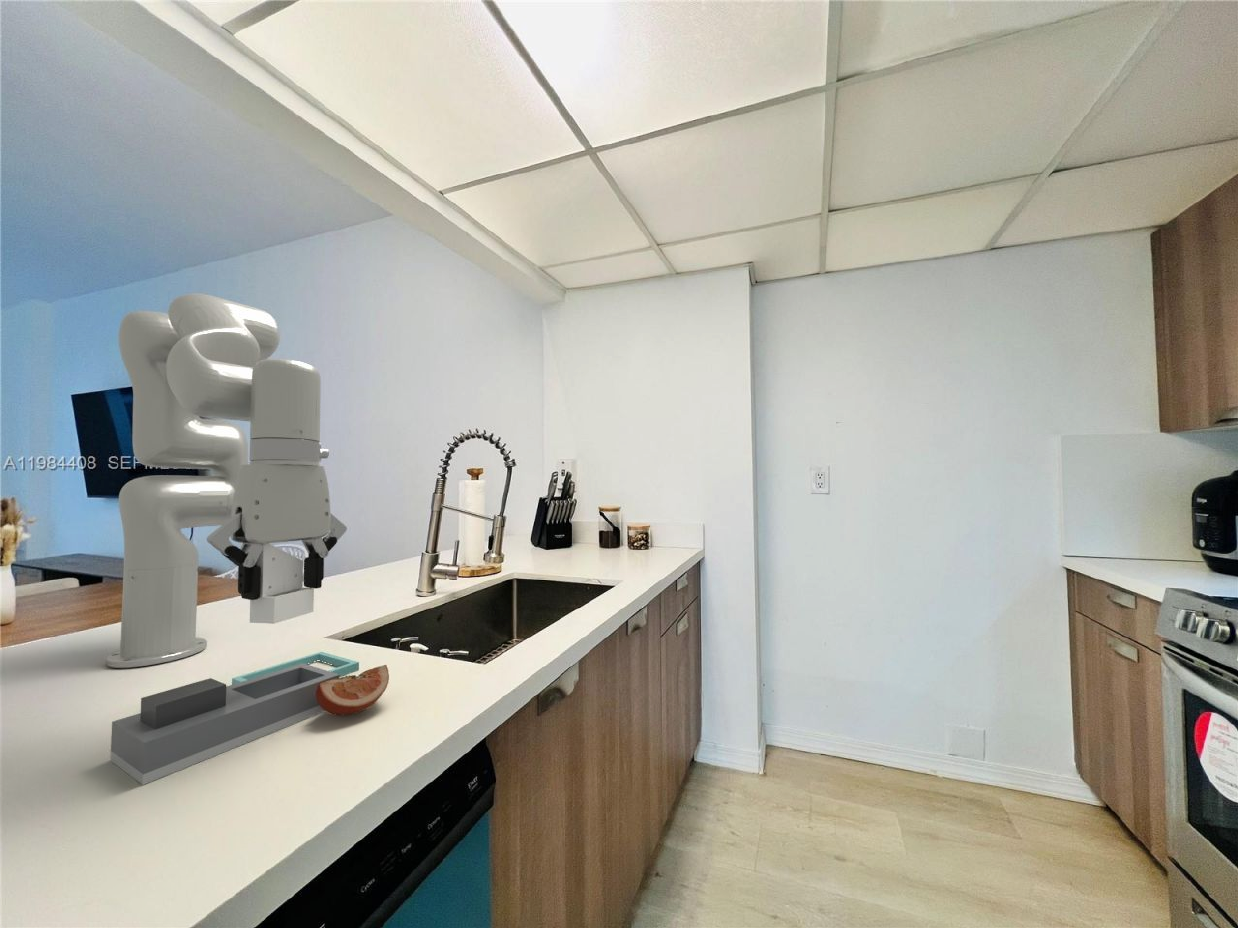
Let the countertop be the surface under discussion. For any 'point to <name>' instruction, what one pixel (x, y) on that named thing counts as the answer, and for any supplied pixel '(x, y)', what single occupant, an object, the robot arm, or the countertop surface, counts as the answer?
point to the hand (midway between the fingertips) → (283, 591)
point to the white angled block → (280, 588)
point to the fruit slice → (352, 691)
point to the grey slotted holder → (211, 719)
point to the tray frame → (343, 664)
